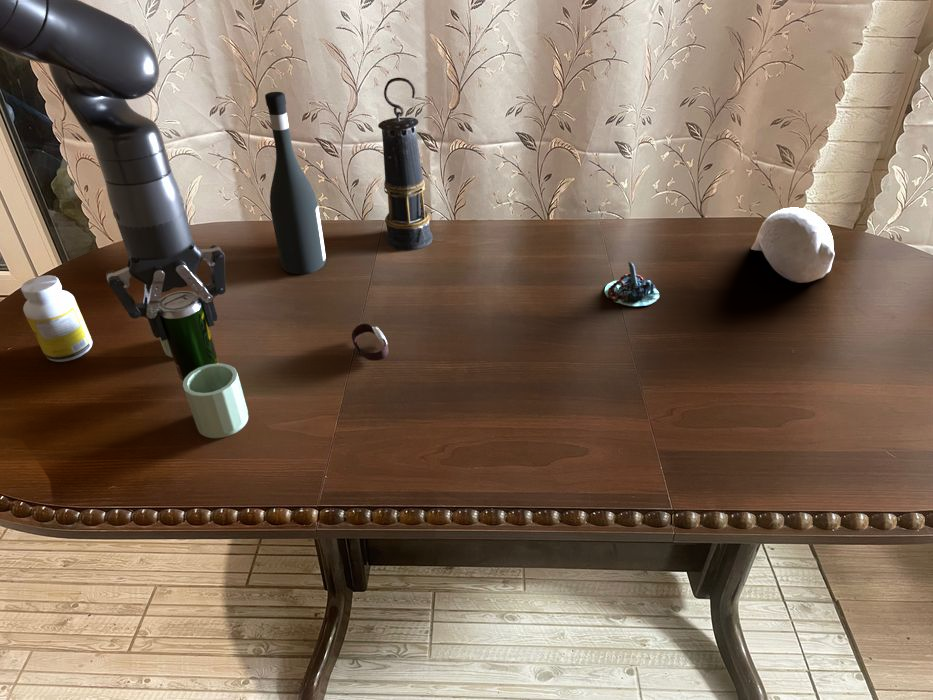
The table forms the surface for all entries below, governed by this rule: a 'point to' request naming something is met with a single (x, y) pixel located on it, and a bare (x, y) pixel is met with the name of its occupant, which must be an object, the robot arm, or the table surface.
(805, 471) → the table surface
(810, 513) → the table surface
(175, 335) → the beer can
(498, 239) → the table surface
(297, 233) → the wine bottle
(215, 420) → the near pot
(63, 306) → the pill bottle
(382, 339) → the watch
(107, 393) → the table surface
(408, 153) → the lantern
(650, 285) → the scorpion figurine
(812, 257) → the seashell
